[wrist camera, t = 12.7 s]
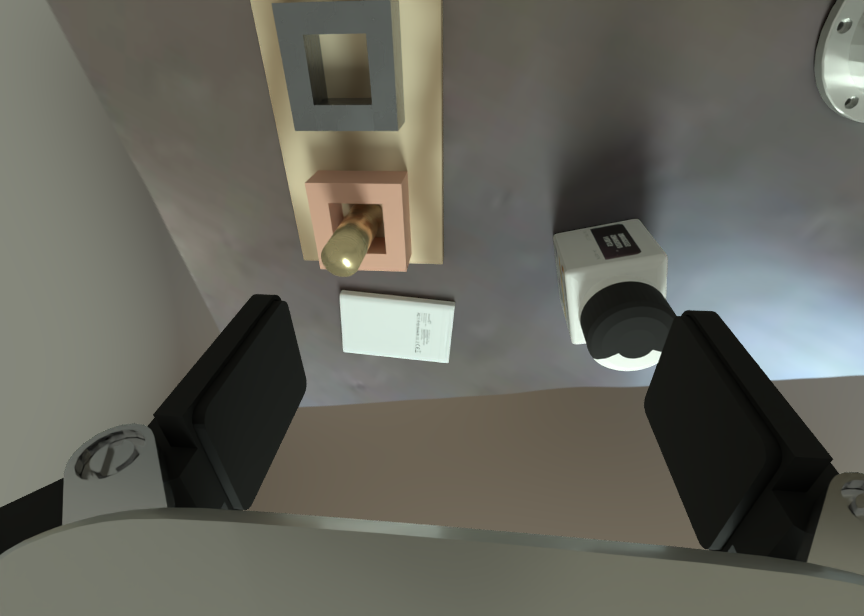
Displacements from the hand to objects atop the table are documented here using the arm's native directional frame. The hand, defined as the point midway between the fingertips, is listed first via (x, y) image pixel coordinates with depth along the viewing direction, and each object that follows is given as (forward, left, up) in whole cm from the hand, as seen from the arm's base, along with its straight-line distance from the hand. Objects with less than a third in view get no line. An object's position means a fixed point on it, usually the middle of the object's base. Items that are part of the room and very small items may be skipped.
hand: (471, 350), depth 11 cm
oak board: (+10, +2, -30) cm, 32 cm away
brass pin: (+10, +8, -29) cm, 31 cm away
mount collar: (+10, -4, -29) cm, 31 cm away
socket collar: (+10, +8, -29) cm, 32 cm away
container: (-12, +13, -31) cm, 35 cm away
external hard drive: (+8, +22, -31) cm, 39 cm away
